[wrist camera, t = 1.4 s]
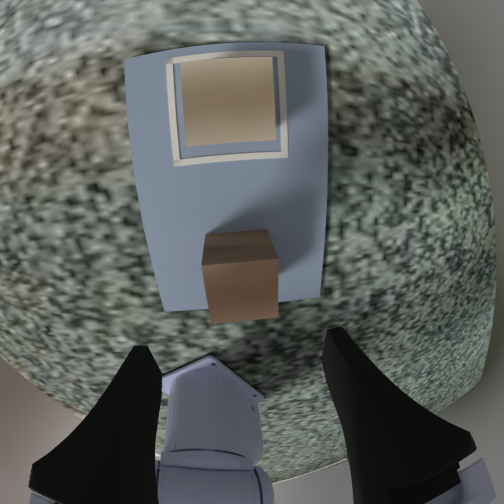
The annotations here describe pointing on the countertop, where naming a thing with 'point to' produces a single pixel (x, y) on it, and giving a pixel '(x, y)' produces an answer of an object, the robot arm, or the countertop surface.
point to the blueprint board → (231, 171)
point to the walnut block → (240, 276)
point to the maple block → (228, 100)
